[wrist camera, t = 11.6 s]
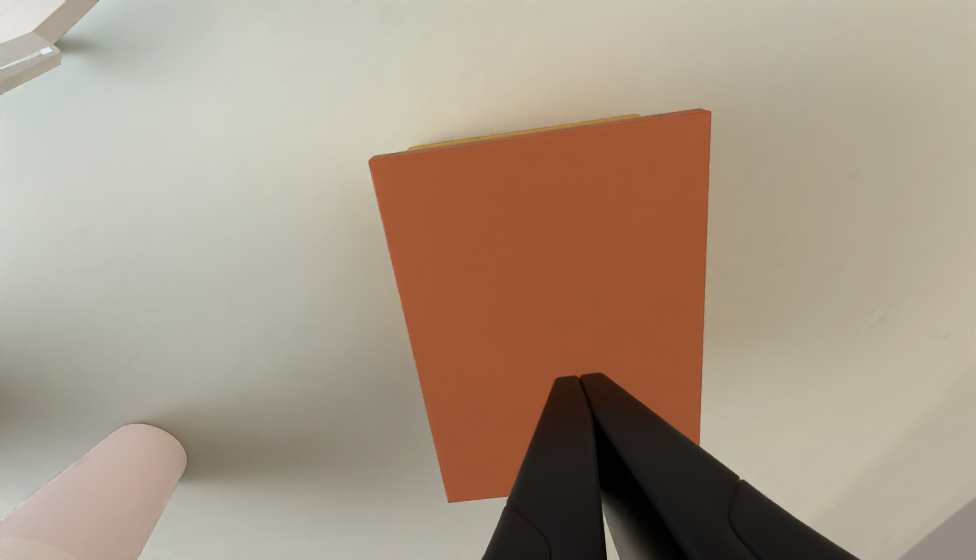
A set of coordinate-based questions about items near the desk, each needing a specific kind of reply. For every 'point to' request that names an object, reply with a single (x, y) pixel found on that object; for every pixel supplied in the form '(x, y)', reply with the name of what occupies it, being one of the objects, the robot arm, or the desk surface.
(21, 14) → the white angular stand
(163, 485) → the smoothie
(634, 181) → the lunchbox lid
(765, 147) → the desk surface
